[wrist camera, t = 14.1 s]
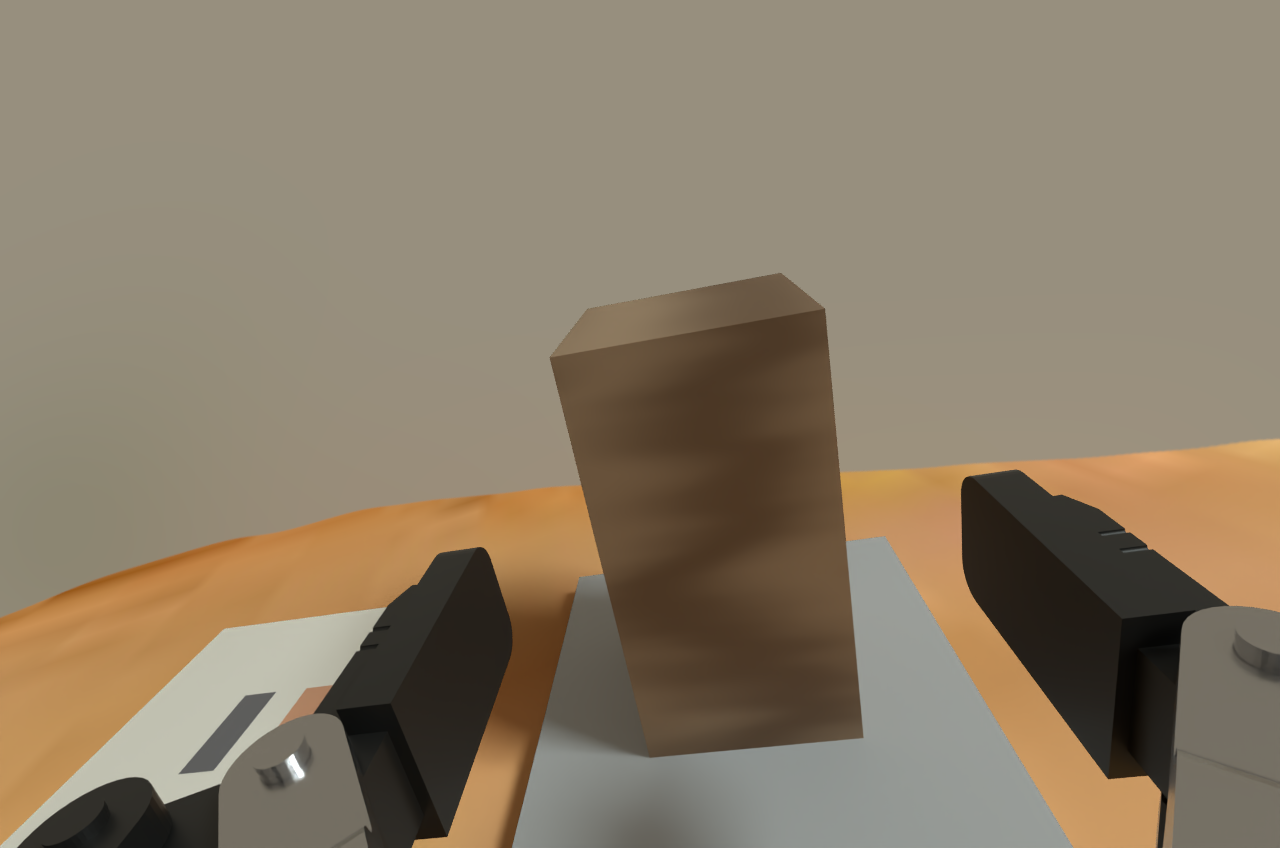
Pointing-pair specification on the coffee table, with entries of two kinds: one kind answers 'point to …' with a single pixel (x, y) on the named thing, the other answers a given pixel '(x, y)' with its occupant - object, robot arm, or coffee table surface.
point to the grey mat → (787, 750)
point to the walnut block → (718, 512)
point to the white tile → (220, 708)
